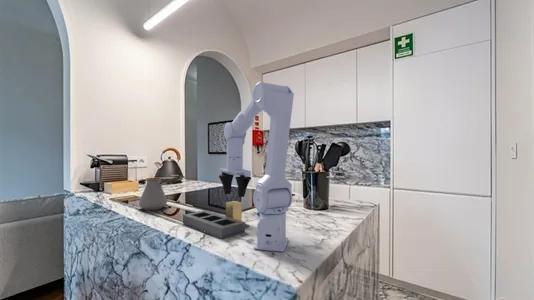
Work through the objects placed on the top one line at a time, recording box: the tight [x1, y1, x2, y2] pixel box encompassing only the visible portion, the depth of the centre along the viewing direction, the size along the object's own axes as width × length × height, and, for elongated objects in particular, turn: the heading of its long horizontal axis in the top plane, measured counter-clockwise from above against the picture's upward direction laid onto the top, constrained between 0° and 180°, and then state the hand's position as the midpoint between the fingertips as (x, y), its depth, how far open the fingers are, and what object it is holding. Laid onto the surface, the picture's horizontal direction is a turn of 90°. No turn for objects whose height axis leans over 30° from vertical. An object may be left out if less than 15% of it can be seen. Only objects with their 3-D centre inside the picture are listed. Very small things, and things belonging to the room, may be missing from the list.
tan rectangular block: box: [225, 200, 243, 222], centre depth 90 cm, size 4×4×7 cm
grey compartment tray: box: [182, 210, 246, 240], centre depth 83 cm, size 22×9×3 cm, turn 47°
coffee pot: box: [138, 174, 186, 211], centre depth 108 cm, size 21×12×15 cm, turn 71°
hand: (234, 195), depth 90 cm, fingers open, 7 cm apart
